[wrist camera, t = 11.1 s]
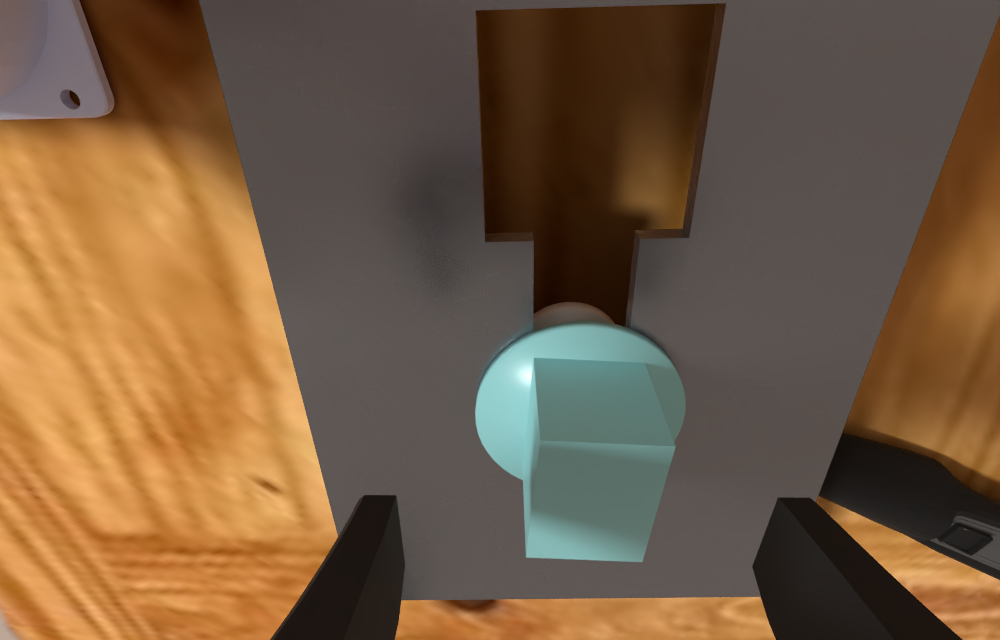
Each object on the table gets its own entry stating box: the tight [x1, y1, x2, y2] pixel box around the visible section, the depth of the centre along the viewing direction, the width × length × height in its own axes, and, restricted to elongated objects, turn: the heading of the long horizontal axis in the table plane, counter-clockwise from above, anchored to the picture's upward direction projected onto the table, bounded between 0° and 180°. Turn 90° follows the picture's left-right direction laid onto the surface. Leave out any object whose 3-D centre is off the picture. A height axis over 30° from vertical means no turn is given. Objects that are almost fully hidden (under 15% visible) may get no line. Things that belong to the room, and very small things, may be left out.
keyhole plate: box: [199, 0, 1000, 600], centre depth 17 cm, size 16×22×4 cm
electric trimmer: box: [818, 433, 1000, 580], centre depth 23 cm, size 4×16×3 cm, turn 64°
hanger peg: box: [475, 302, 686, 562], centre depth 16 cm, size 6×6×7 cm
